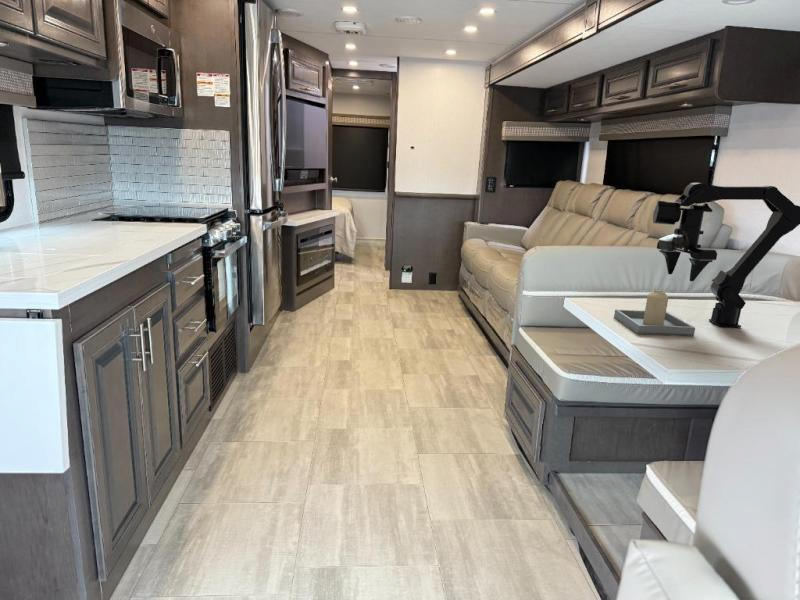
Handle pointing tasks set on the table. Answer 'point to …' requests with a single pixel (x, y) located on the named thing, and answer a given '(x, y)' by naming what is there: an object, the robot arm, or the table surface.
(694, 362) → the table surface
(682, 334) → the tray
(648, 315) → the candle
